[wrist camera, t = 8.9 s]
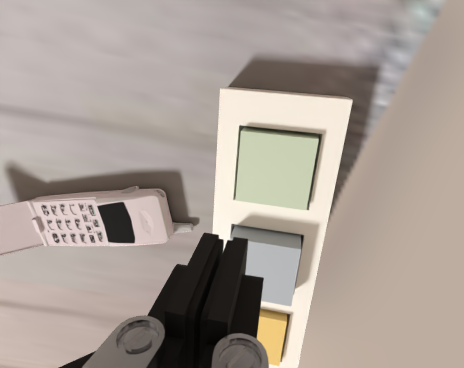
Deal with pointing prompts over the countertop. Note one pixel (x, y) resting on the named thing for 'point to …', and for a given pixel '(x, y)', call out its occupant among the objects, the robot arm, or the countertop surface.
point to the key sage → (276, 167)
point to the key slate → (272, 261)
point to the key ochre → (272, 333)
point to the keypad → (273, 217)
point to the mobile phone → (89, 220)
